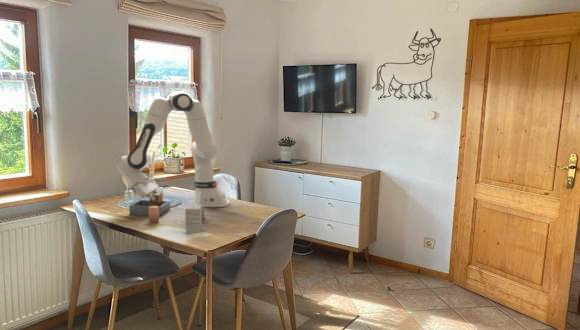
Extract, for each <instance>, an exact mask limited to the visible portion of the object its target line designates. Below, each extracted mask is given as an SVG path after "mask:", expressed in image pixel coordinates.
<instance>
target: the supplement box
mask: <svg viewBox="0 0 580 330" xmlns="http://www.w3.org/2000/svg"><path fill="white" fill-rule="evenodd" d="M184 209H185V210H184V212H185V213H184V214H185V215H184V217H185V219H184V220H185V221H184V222H185V223H184V224H185V225H184V227H185V234H186V233H200V234H201V232H202V229H203V227H202V226H203V224H202V223H203V221H202V220H203V219H202V205H194V204H187V205H186V207H185V208H184Z"/></svg>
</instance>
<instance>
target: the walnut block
mask: <svg viewBox="0 0 580 330" xmlns="http://www.w3.org/2000/svg"><path fill="white" fill-rule="evenodd" d="M151 195H152V196H154V197H155V198H156V200H155V201H153V200H152V199H150V198H149V200H150V206H159V207H160V206H162V201H163V194H162V193H161V192H158V193H151Z"/></svg>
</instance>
